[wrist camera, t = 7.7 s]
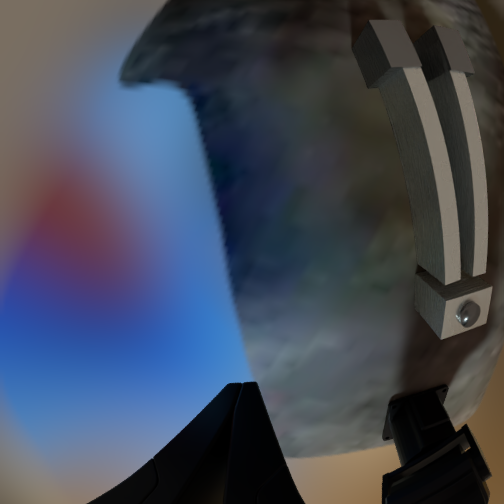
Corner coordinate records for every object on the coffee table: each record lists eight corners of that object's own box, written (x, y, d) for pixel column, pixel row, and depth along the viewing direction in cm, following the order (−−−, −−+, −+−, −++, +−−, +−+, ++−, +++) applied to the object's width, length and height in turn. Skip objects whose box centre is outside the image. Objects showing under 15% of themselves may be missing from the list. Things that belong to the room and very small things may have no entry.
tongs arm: (431, 258, 16) (462, 280, 12) (407, 266, 17) (435, 290, 13) (378, 46, 13) (400, 20, 9) (351, 48, 13) (368, 19, 9)
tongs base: (459, 294, 17) (492, 324, 12) (414, 307, 18) (443, 343, 13) (429, 50, 12) (463, 26, 8) (377, 46, 13) (404, 14, 8)
